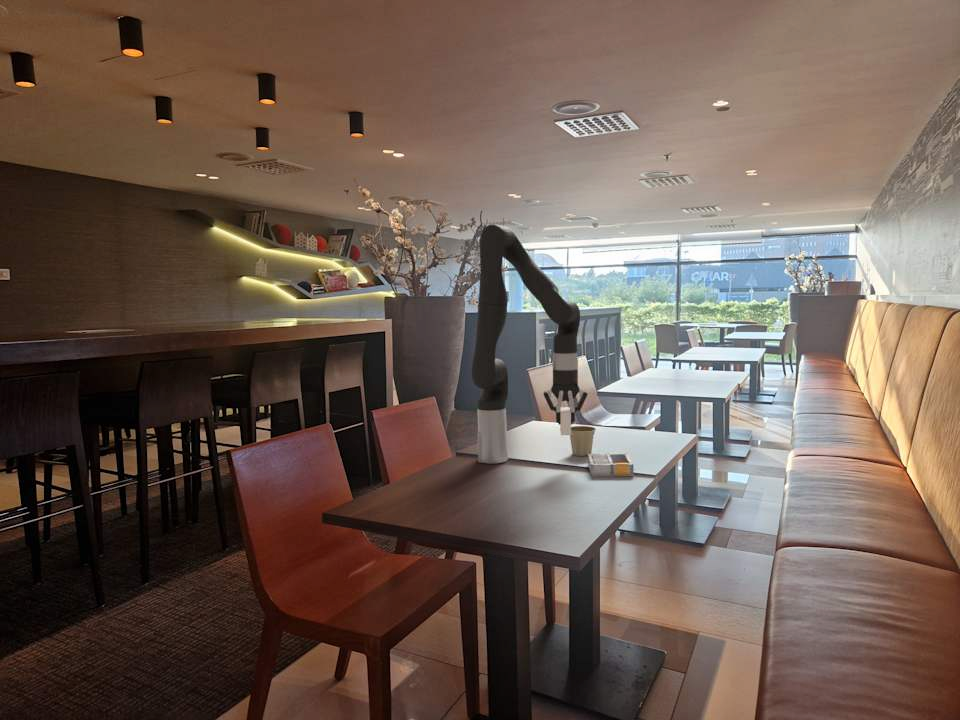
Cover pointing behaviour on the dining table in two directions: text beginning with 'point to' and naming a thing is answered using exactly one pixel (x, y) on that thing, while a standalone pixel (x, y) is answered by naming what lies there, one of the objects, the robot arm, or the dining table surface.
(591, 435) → the flower pot
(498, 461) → the robot arm
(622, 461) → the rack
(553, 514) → the dining table surface
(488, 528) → the dining table surface
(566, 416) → the panel
